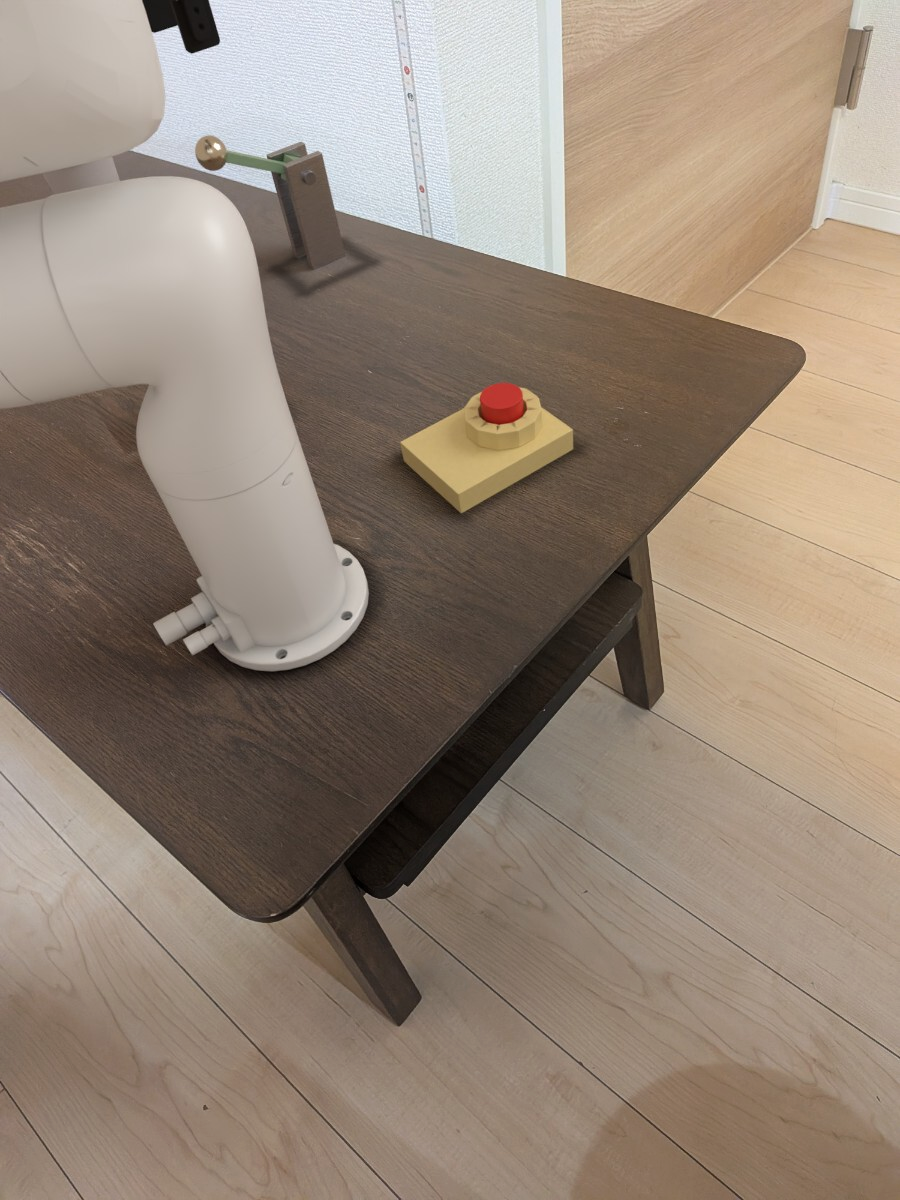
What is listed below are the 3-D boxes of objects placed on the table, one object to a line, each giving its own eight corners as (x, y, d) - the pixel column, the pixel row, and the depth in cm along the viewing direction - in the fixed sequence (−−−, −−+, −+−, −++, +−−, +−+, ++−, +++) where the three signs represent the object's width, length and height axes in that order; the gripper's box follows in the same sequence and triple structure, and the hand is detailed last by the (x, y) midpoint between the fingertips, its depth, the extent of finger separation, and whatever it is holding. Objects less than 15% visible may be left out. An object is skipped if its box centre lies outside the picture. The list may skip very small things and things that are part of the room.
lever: (200, 171, 83) (204, 136, 82) (188, 163, 85) (192, 128, 83) (313, 192, 91) (318, 161, 89) (300, 184, 93) (305, 153, 91)
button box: (461, 513, 68) (455, 477, 65) (403, 461, 73) (396, 425, 70) (573, 449, 71) (573, 412, 68) (510, 403, 77) (507, 367, 74)
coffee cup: (164, 235, 110) (116, 113, 98) (135, 272, 104) (80, 146, 92) (101, 238, 112) (46, 118, 100) (68, 274, 106) (6, 151, 94)
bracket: (304, 292, 95) (273, 178, 85) (274, 268, 100) (241, 158, 90) (370, 263, 98) (347, 149, 88) (338, 241, 102) (312, 130, 93)
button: (498, 431, 69) (496, 414, 67) (473, 412, 71) (471, 395, 69) (532, 412, 70) (531, 395, 68) (506, 394, 72) (505, 377, 70)
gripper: (28, -210, 68) (117, 32, 81) (90, -206, 57) (180, 70, 70) (113, -229, 70) (187, 10, 83) (188, -228, 59) (258, 44, 73)
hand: (184, 38), depth 77 cm, fingers open, 9 cm apart
